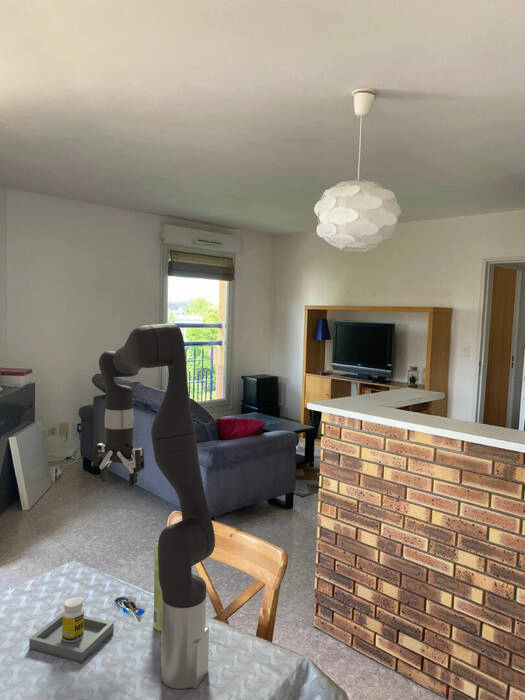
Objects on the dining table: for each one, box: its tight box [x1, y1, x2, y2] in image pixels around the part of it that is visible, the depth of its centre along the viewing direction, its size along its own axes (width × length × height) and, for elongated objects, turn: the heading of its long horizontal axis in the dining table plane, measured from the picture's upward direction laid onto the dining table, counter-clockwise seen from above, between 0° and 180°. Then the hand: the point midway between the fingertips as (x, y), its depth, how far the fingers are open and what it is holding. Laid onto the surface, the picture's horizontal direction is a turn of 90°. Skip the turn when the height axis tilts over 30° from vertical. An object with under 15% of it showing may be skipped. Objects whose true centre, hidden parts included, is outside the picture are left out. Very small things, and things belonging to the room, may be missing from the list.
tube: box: [152, 545, 162, 632], centre depth 129 cm, size 6×5×20 cm
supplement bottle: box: [61, 597, 85, 642], centre depth 123 cm, size 5×5×8 cm
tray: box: [28, 611, 115, 664], centre depth 123 cm, size 14×12×2 cm
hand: (118, 484), depth 144 cm, fingers open, 8 cm apart
